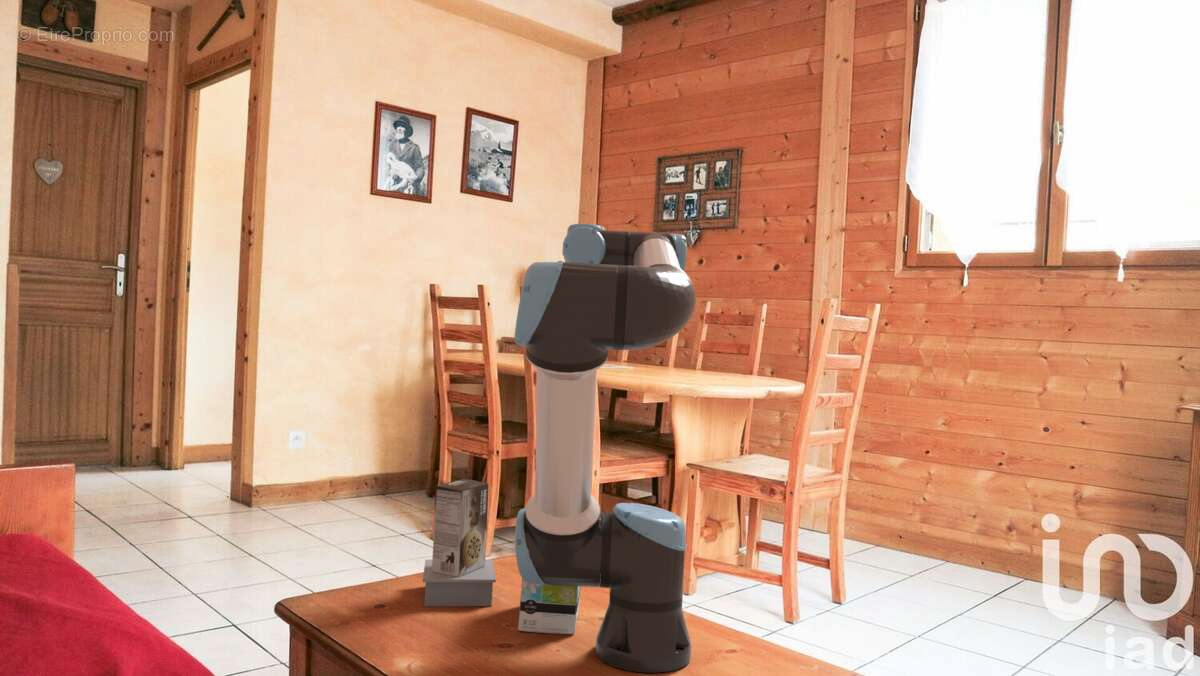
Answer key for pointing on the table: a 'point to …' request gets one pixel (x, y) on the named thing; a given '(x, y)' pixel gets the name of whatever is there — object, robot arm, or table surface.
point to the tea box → (548, 608)
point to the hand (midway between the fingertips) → (576, 416)
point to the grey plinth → (459, 587)
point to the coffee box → (460, 527)
